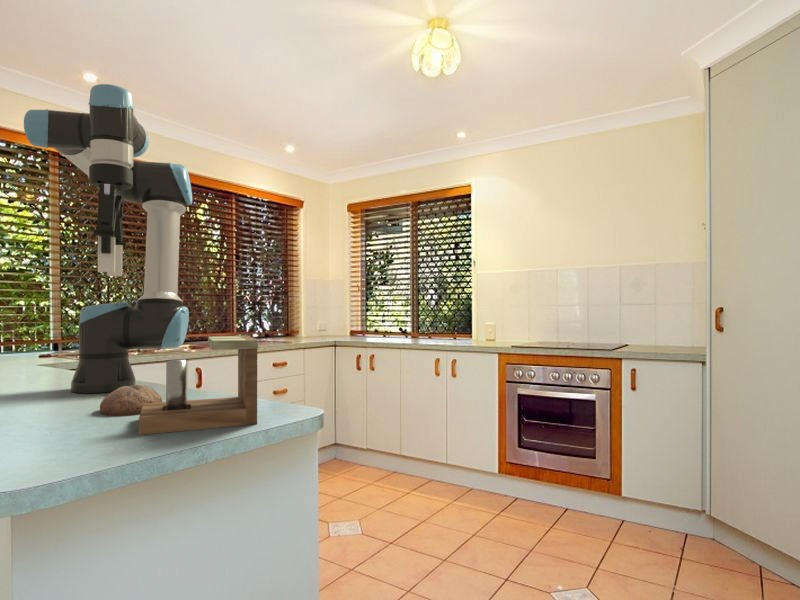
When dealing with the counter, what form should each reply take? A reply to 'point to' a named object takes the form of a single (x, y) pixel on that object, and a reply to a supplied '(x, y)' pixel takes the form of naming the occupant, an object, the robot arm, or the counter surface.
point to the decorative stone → (128, 400)
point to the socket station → (212, 410)
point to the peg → (176, 384)
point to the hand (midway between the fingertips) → (110, 274)
